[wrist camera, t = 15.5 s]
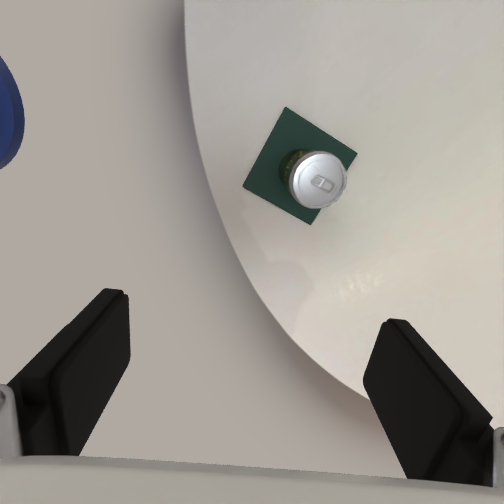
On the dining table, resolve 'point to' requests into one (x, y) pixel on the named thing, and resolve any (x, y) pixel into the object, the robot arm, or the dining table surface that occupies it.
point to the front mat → (281, 143)
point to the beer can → (313, 177)
